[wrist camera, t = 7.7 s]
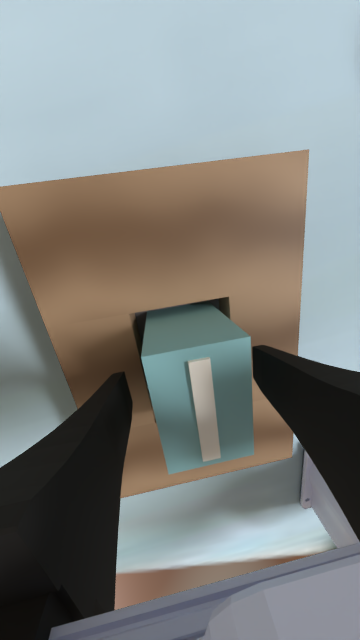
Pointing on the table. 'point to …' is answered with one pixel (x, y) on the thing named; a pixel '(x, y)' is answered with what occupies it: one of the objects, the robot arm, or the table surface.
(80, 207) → the keyed socket
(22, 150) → the table surface
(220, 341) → the teal striped block
